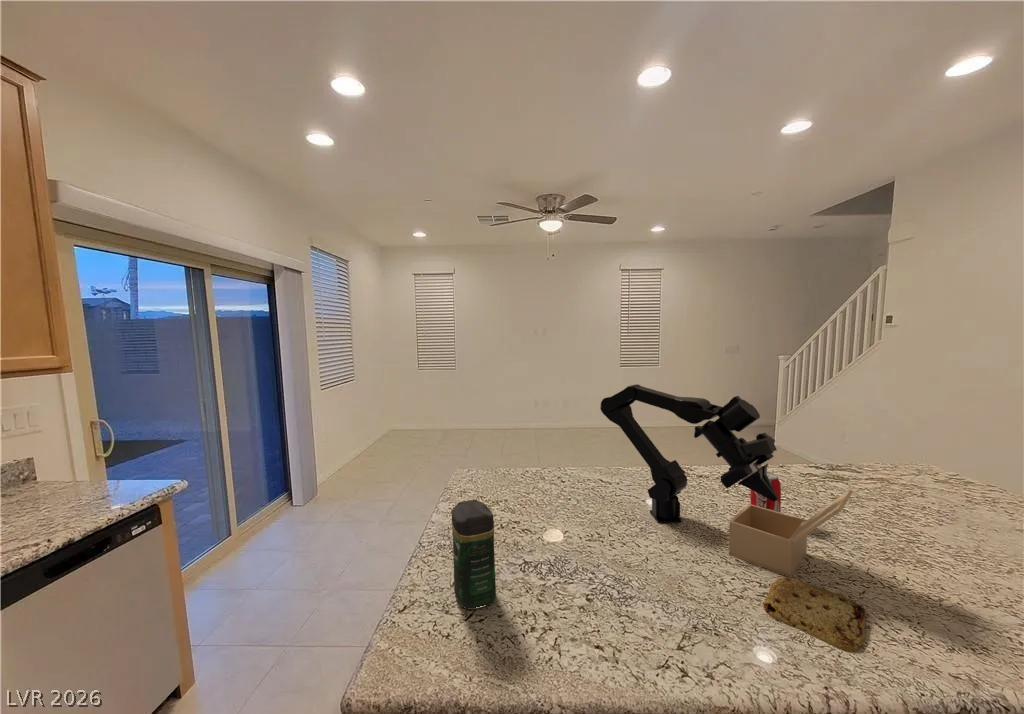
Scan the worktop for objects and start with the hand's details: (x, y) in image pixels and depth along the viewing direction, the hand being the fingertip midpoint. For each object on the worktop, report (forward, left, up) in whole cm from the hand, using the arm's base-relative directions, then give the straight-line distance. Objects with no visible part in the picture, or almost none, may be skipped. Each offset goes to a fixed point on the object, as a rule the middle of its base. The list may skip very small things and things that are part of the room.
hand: (776, 500), depth 89 cm
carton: (-1, +1, -13) cm, 13 cm away
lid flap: (+5, -6, -1) cm, 8 cm away
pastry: (-5, -18, -14) cm, 23 cm away
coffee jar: (-68, -9, -13) cm, 70 cm away
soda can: (+10, +18, -13) cm, 25 cm away
